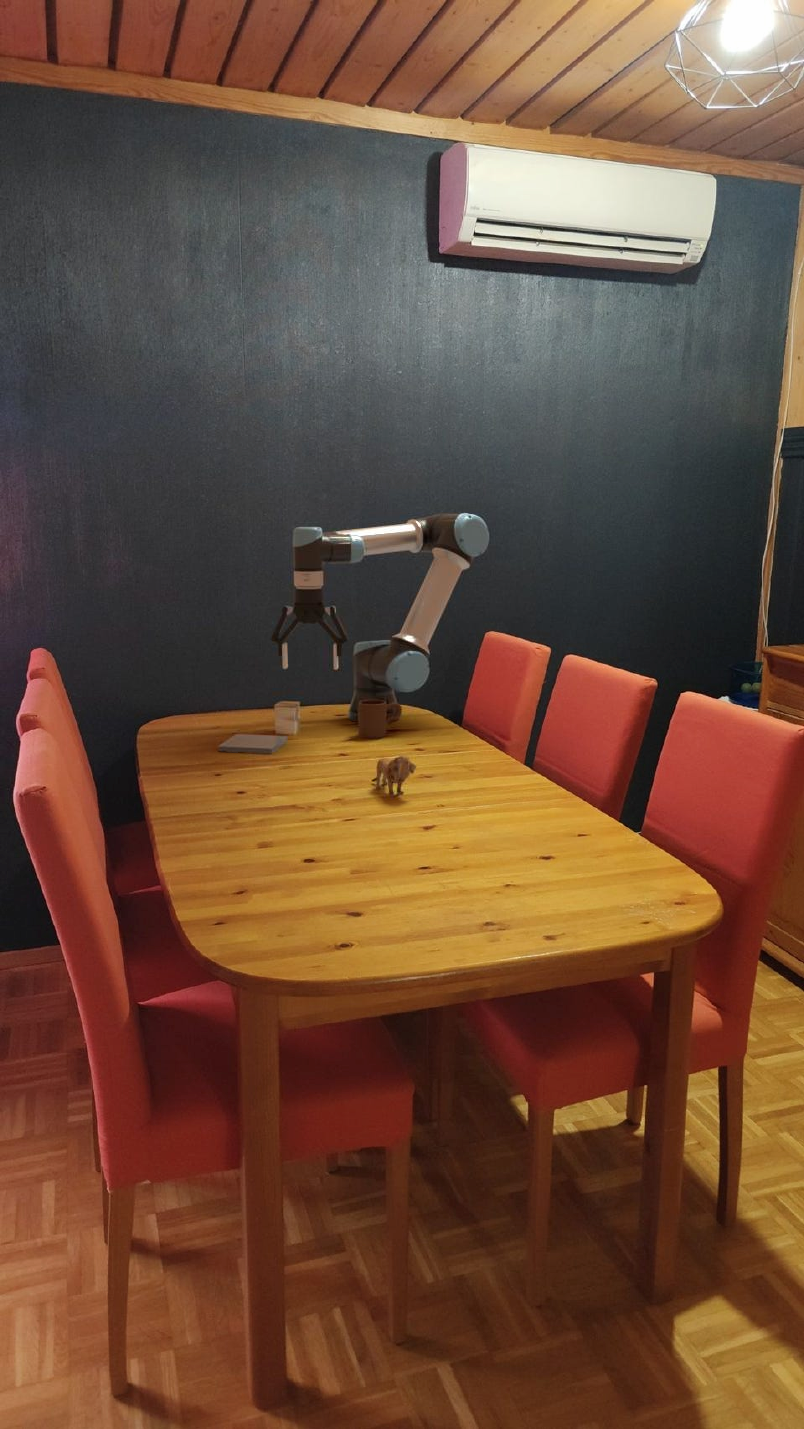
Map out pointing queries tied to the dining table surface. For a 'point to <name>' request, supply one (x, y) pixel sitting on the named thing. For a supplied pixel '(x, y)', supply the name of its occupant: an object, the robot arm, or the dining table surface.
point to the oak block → (287, 717)
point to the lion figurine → (394, 772)
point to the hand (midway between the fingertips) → (310, 668)
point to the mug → (375, 718)
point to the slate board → (253, 743)
